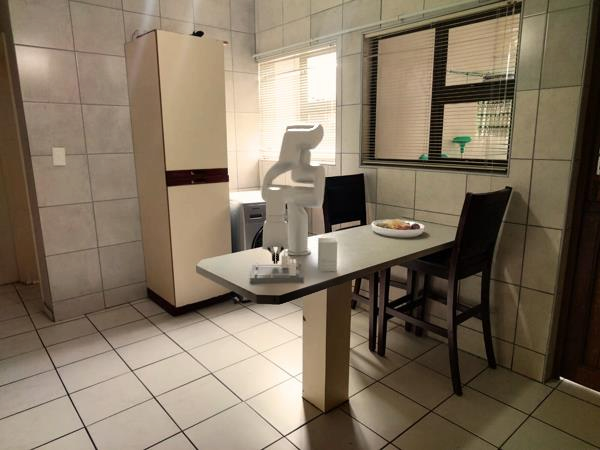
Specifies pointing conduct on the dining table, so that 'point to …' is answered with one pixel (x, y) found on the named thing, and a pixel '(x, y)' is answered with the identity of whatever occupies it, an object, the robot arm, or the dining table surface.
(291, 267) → the block
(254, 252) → the dining table surface
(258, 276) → the console
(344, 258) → the dining table surface
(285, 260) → the block
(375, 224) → the bowl
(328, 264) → the supplement box
